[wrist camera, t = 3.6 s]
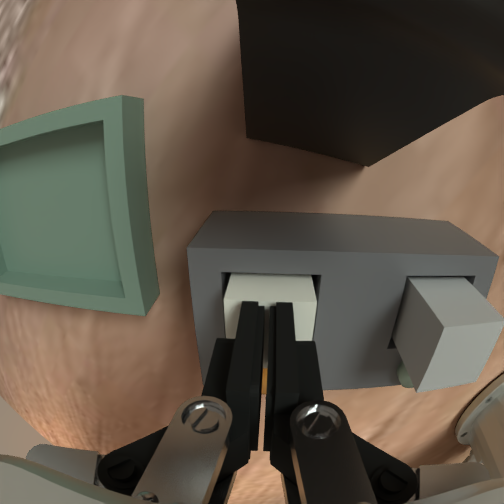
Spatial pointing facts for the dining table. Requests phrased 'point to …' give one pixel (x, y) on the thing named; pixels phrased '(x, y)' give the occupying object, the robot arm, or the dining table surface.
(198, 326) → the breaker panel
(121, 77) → the dining table surface
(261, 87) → the phone stand
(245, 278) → the block
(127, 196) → the tray
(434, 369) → the block
